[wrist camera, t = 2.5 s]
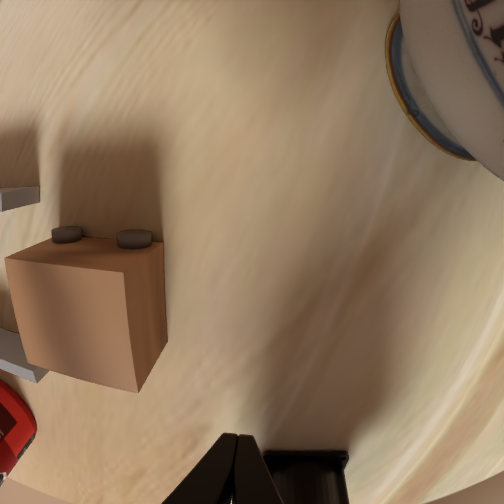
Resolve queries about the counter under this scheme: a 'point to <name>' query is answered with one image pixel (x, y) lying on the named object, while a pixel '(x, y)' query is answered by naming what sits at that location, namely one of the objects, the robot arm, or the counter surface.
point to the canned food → (13, 429)
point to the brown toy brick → (91, 305)
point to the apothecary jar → (452, 75)
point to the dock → (3, 341)
